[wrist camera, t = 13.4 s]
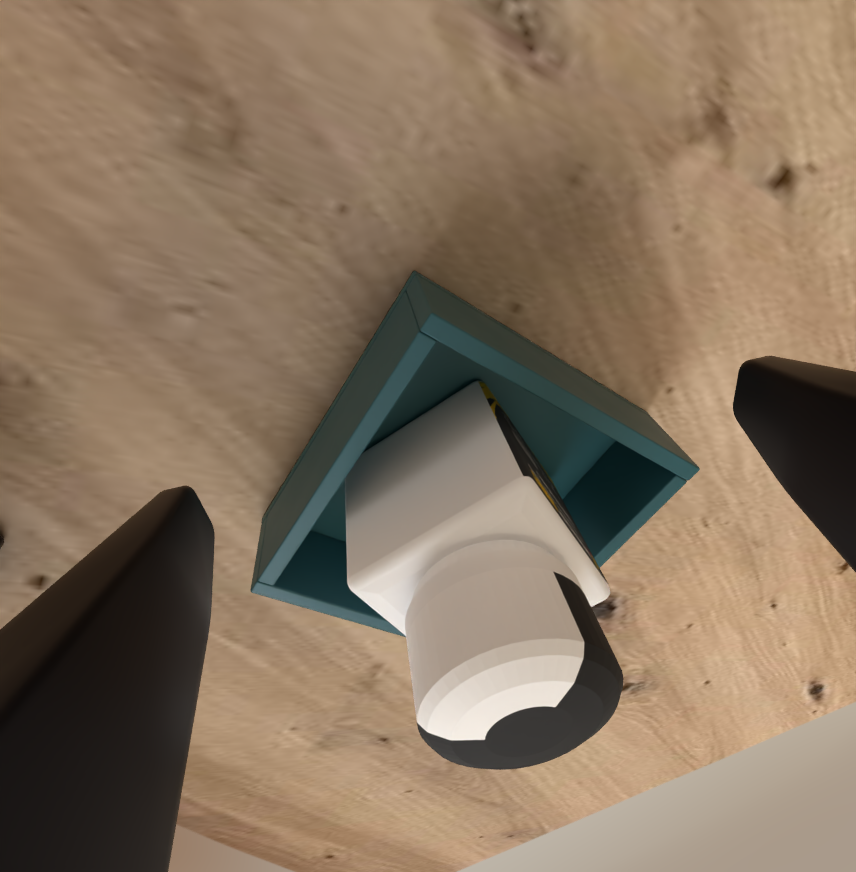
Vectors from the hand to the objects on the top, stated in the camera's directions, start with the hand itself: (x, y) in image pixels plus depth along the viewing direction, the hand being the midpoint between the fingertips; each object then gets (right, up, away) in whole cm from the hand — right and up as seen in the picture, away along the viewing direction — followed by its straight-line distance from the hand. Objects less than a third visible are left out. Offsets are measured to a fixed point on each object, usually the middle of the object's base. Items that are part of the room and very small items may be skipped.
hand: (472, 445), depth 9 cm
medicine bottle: (0, -1, +16) cm, 16 cm away
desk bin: (0, -1, +17) cm, 17 cm away
